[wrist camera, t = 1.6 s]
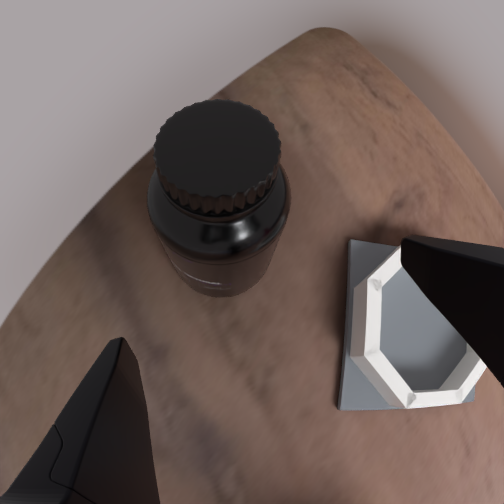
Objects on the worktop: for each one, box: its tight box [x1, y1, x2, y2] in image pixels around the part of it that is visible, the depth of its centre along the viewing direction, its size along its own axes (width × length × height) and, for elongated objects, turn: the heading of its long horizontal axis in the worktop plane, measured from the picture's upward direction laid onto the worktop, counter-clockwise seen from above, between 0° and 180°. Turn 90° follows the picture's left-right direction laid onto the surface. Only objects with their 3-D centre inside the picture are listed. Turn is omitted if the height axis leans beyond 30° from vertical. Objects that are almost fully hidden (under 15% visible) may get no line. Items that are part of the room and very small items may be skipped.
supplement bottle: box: [147, 99, 291, 297], centre depth 17 cm, size 7×7×12 cm
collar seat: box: [337, 239, 487, 410], centre depth 20 cm, size 12×12×3 cm
